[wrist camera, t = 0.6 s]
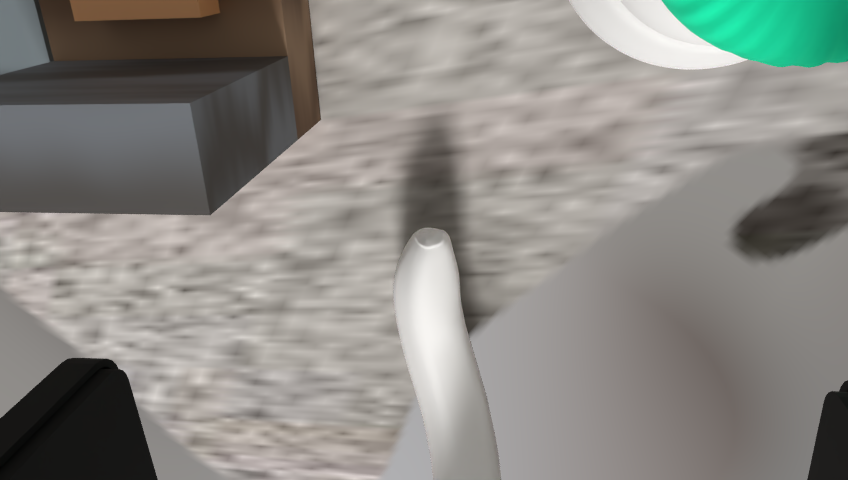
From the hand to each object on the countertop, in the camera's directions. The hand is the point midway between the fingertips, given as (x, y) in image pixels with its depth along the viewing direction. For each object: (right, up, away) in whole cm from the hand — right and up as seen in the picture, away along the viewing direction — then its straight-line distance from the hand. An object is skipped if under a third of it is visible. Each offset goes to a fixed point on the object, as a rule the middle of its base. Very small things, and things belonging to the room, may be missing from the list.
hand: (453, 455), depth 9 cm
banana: (+2, -3, +32) cm, 32 cm away
